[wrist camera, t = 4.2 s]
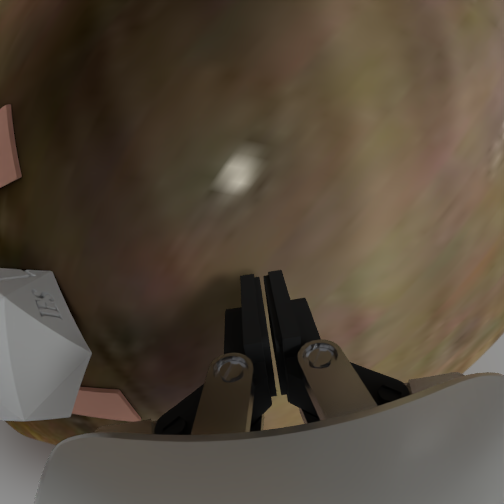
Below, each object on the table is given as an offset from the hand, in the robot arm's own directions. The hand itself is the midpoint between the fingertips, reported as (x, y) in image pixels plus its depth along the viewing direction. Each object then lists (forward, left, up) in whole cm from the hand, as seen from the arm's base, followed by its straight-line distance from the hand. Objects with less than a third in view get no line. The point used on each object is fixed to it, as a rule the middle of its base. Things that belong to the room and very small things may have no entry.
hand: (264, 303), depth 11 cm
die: (+13, 0, -2) cm, 13 cm away
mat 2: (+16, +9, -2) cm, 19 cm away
